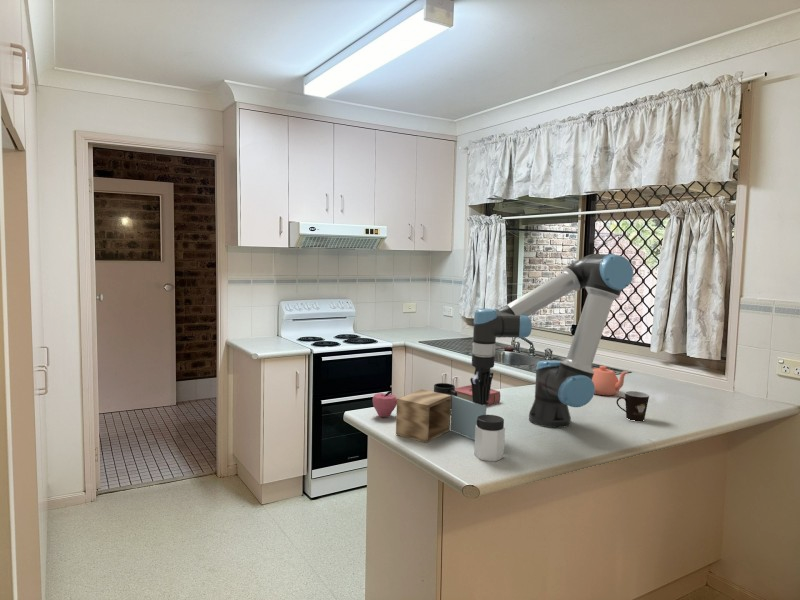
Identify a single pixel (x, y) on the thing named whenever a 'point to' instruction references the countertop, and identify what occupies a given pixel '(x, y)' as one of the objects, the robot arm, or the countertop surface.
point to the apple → (384, 403)
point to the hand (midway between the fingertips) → (479, 422)
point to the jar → (489, 438)
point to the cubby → (423, 415)
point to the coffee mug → (635, 405)
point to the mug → (445, 389)
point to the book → (466, 394)
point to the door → (465, 416)
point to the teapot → (607, 381)
